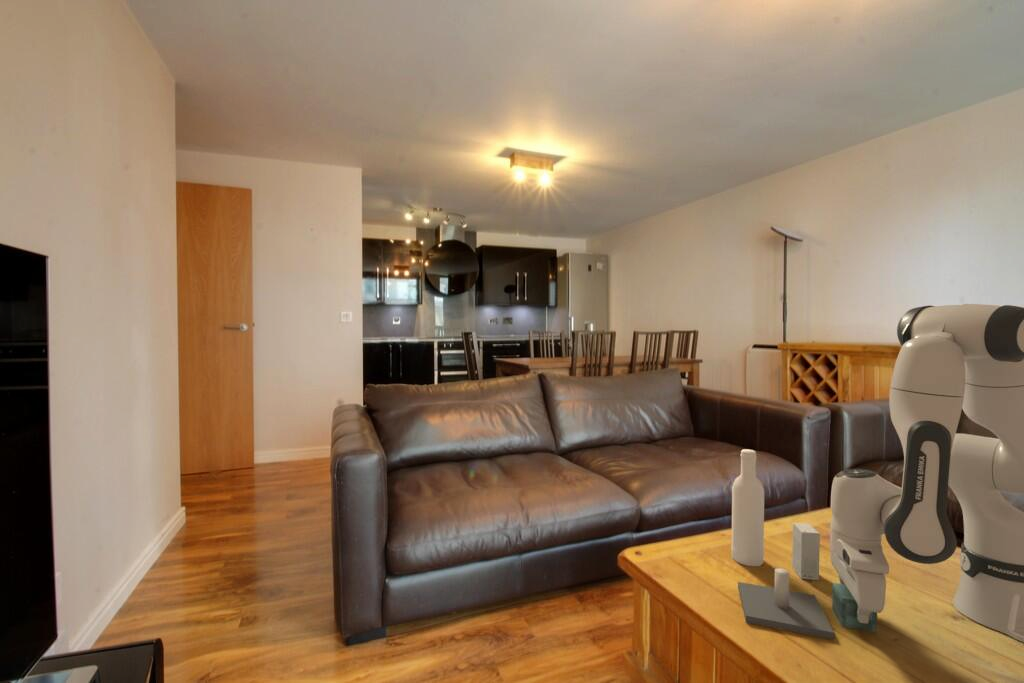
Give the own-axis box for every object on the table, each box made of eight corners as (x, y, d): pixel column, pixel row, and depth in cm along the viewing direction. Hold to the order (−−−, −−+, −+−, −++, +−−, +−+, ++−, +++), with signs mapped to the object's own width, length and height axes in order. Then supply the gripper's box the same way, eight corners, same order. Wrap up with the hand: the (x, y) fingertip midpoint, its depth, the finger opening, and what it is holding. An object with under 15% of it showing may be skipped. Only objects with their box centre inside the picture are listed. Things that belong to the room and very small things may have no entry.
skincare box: (819, 581, 114) (820, 533, 114) (800, 579, 115) (801, 532, 115) (809, 568, 120) (809, 523, 120) (791, 567, 121) (792, 522, 121)
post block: (814, 601, 106) (815, 562, 106) (833, 639, 93) (834, 596, 92) (738, 587, 111) (738, 551, 111) (745, 622, 98) (746, 581, 98)
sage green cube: (865, 614, 101) (865, 587, 101) (876, 632, 95) (877, 603, 95) (832, 608, 103) (832, 582, 103) (841, 625, 97) (841, 597, 97)
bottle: (724, 556, 127) (725, 448, 126) (743, 550, 130) (744, 445, 129) (751, 569, 120) (752, 456, 119) (770, 562, 123) (771, 452, 122)
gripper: (823, 523, 109) (822, 580, 110) (854, 564, 90) (853, 633, 91) (854, 527, 107) (853, 585, 108) (893, 570, 88) (892, 641, 88)
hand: (853, 608), depth 99 cm, fingers open, 8 cm apart
